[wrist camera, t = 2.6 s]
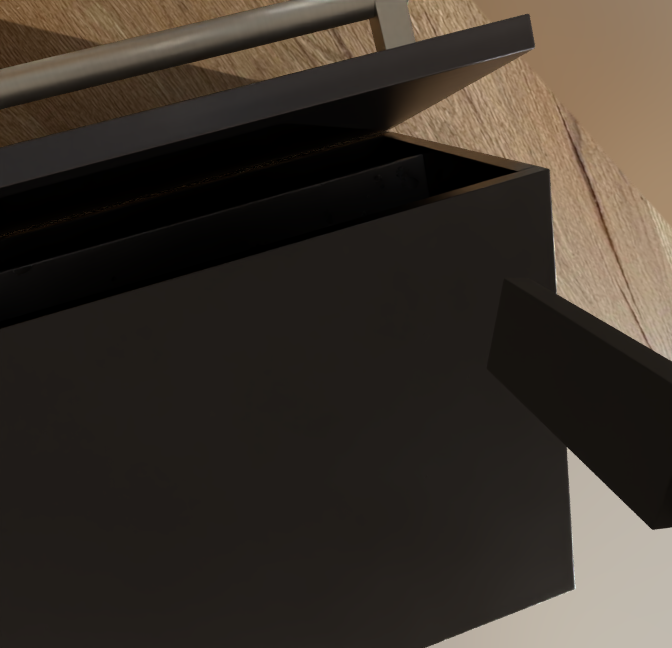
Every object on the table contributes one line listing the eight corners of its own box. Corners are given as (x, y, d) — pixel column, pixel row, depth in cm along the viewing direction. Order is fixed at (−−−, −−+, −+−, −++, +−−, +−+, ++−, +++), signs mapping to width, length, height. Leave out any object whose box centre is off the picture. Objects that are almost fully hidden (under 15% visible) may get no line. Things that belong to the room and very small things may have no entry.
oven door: (-86, 186, 46) (-449, 149, 22) (376, 67, 51) (514, -75, 26) (-58, 250, 48) (-372, 285, 23) (391, 128, 52) (536, 47, 28)
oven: (-55, 252, 48) (-284, 411, 25) (390, 131, 53) (550, 168, 30) (97, 528, 62) (41, 798, 38) (439, 412, 66) (575, 589, 43)
